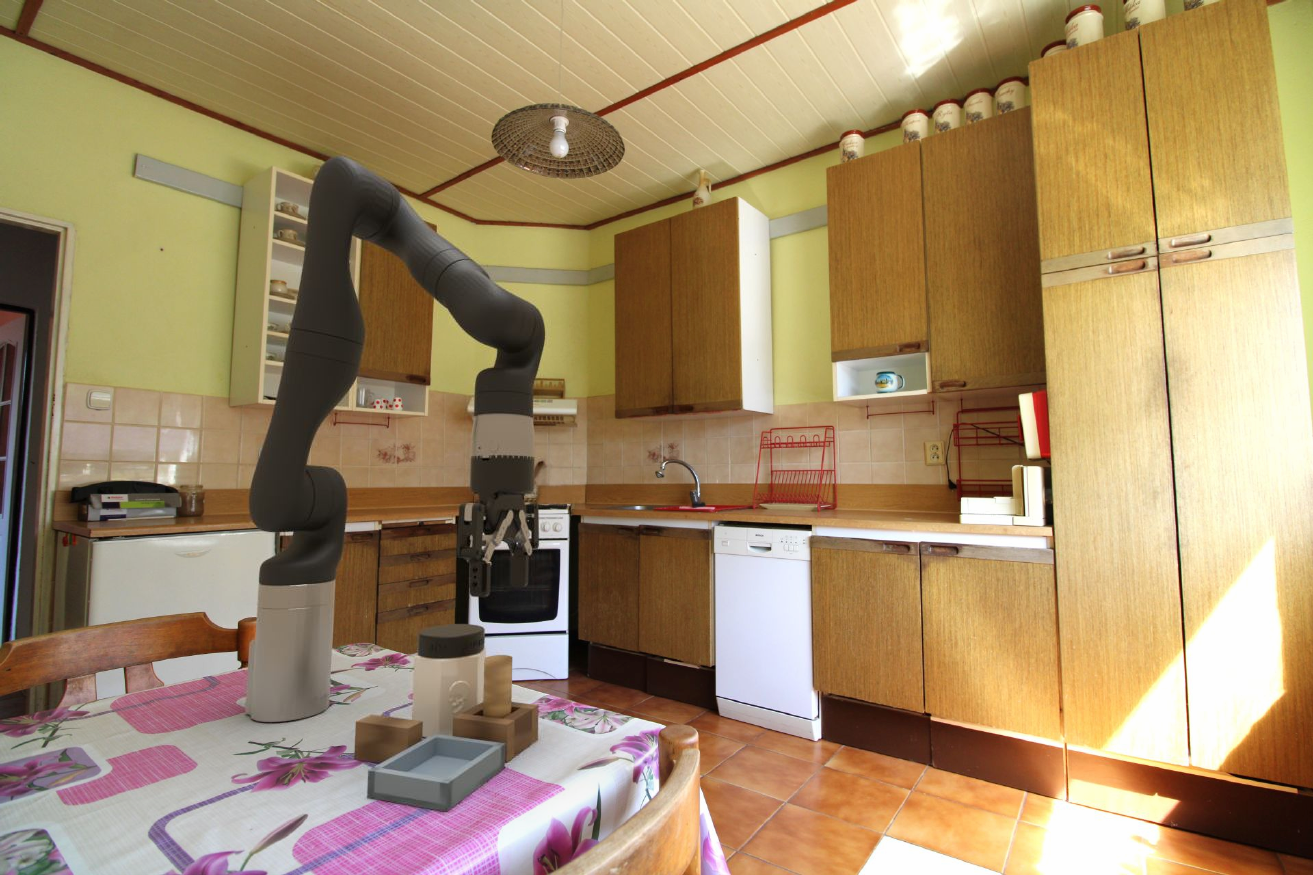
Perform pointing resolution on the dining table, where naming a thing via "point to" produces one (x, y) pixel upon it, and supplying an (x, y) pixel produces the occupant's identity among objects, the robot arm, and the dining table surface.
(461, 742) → the tray
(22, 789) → the dining table surface
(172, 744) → the dining table surface
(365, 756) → the block
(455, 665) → the jar
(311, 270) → the robot arm
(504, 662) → the dowel
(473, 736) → the socket block
